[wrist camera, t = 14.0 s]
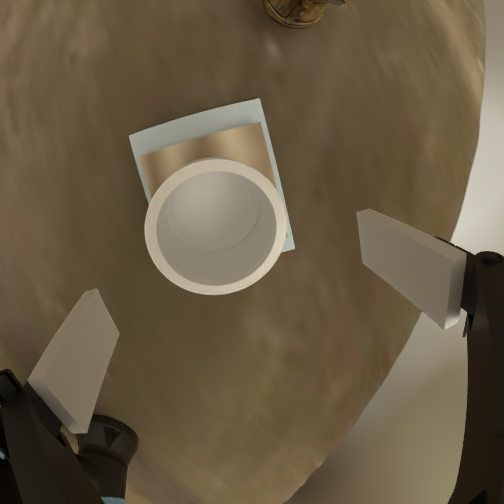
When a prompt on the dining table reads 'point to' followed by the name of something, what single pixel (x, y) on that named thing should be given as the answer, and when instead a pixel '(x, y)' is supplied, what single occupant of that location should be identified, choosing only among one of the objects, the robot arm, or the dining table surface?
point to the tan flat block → (210, 154)
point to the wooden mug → (297, 11)
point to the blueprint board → (201, 127)
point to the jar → (215, 226)
